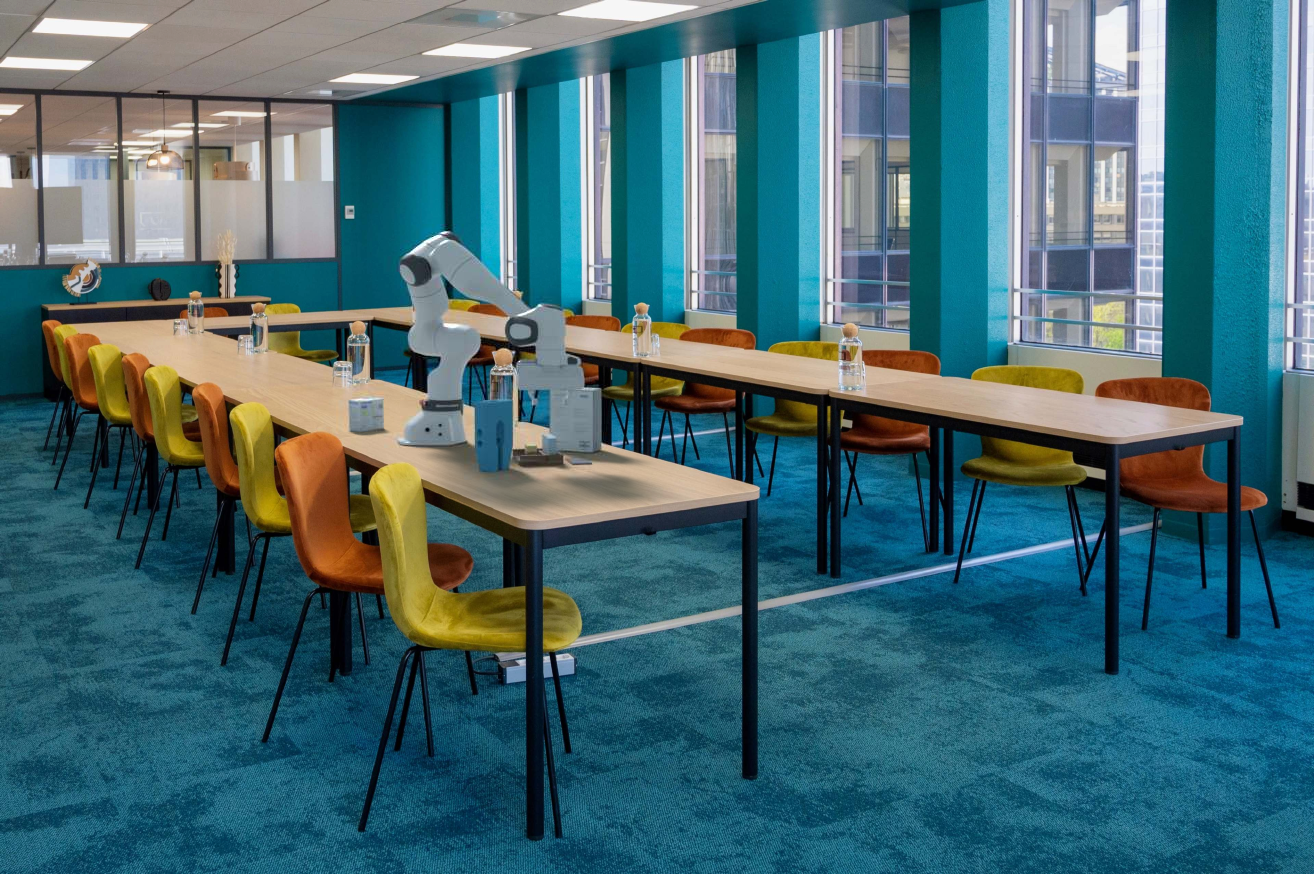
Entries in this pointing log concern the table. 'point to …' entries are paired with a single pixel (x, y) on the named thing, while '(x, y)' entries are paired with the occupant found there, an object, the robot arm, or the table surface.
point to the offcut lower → (530, 453)
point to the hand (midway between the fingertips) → (550, 404)
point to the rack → (537, 458)
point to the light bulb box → (366, 414)
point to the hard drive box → (576, 419)
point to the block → (493, 434)
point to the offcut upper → (531, 447)
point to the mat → (578, 461)
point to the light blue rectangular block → (549, 444)
